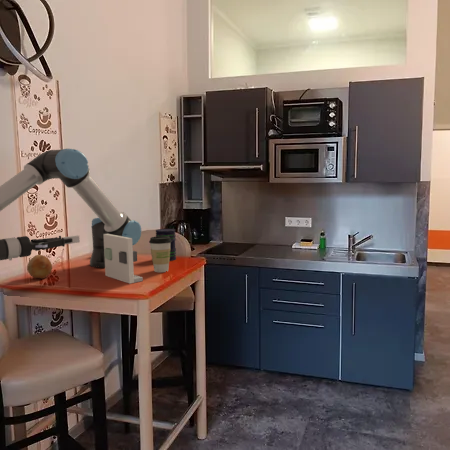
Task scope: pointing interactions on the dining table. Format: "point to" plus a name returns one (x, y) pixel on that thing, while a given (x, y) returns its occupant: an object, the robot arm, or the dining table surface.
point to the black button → (124, 257)
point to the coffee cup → (160, 252)
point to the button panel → (113, 265)
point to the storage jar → (172, 236)
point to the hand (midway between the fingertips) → (78, 238)
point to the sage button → (108, 253)
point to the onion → (39, 266)
